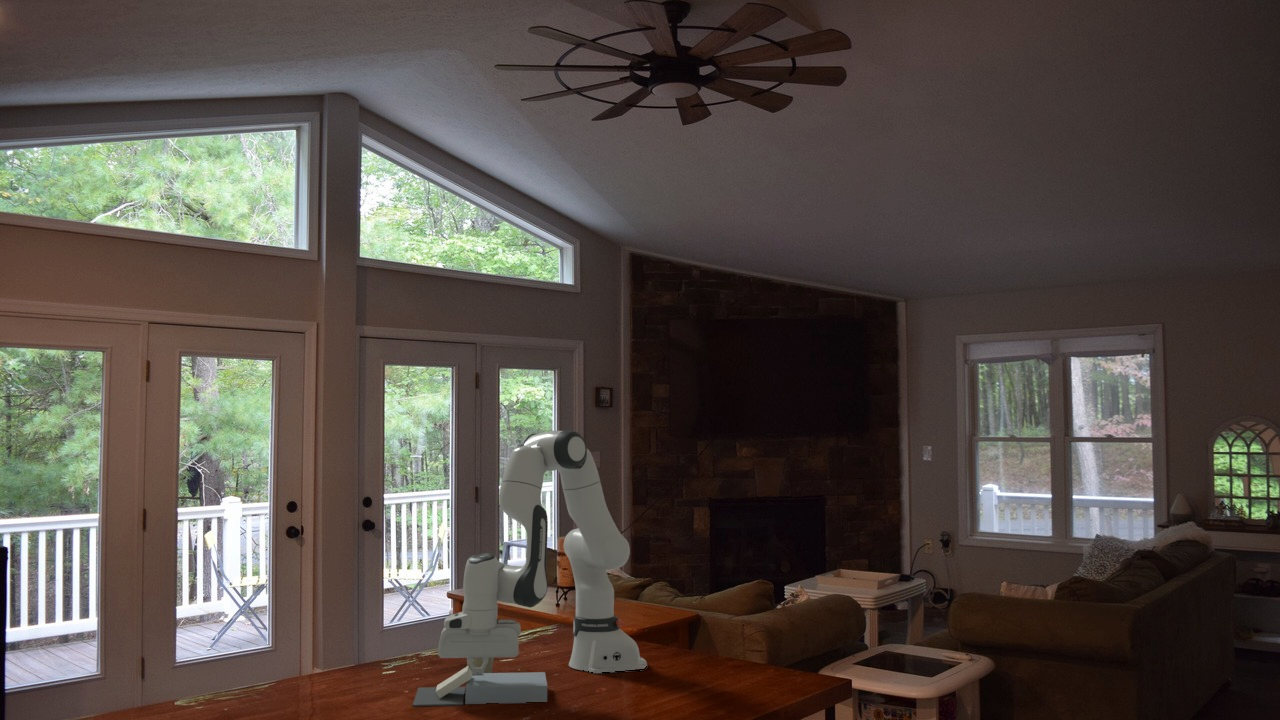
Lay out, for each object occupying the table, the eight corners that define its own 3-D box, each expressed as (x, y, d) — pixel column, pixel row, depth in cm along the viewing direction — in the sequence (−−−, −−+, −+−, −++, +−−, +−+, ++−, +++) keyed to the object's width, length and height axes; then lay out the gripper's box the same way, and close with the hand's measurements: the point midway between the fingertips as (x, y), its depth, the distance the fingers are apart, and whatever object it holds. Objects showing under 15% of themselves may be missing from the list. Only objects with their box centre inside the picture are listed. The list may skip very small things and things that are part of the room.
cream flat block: (472, 672, 247) (468, 665, 247) (471, 678, 241) (467, 671, 241) (441, 692, 246) (437, 685, 246) (439, 698, 240) (435, 691, 240)
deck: (544, 687, 253) (545, 672, 254) (547, 702, 240) (547, 686, 240) (467, 689, 251) (467, 673, 251) (465, 704, 237) (465, 687, 237)
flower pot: (503, 674, 267) (504, 642, 268) (487, 682, 258) (488, 649, 259) (473, 671, 270) (474, 639, 271) (456, 678, 261) (457, 646, 262)
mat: (465, 688, 252) (465, 686, 252) (462, 705, 236) (462, 703, 236) (418, 689, 250) (418, 687, 250) (412, 706, 234) (412, 704, 234)
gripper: (520, 616, 250) (518, 671, 249) (440, 617, 247) (437, 672, 246) (521, 621, 244) (519, 677, 243) (438, 622, 241) (436, 678, 240)
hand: (477, 675), depth 244 cm, fingers closed
